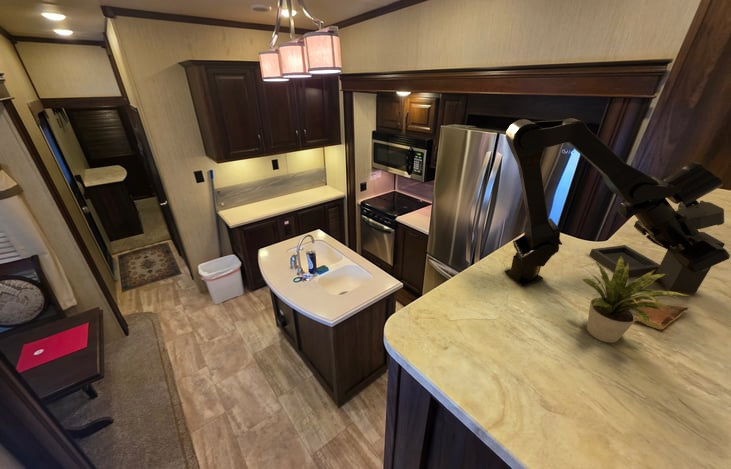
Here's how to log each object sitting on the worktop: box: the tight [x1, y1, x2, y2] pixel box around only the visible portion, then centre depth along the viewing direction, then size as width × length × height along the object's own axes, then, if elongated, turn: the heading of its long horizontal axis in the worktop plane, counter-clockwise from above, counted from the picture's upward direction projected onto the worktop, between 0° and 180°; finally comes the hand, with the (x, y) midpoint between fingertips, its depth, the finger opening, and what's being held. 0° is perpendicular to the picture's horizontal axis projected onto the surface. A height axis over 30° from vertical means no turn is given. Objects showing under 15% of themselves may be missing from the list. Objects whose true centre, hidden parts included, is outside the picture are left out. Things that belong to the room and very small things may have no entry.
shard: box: [634, 299, 689, 331], centre depth 59 cm, size 11×8×2 cm
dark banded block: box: [654, 231, 726, 294], centre depth 65 cm, size 5×6×13 cm
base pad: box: [589, 244, 661, 278], centre depth 76 cm, size 10×10×2 cm
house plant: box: [581, 256, 690, 343], centre depth 53 cm, size 14×14×16 cm
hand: (694, 262), depth 65 cm, fingers closed on dark banded block, 5 cm apart
